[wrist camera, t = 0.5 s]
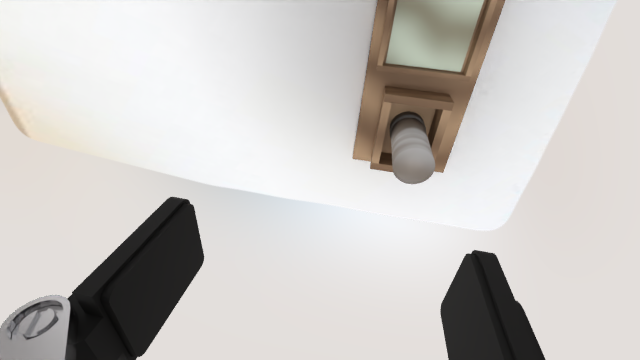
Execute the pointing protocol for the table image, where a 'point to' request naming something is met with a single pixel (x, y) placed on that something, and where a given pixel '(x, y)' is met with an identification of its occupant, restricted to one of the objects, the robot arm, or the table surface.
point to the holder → (421, 82)
